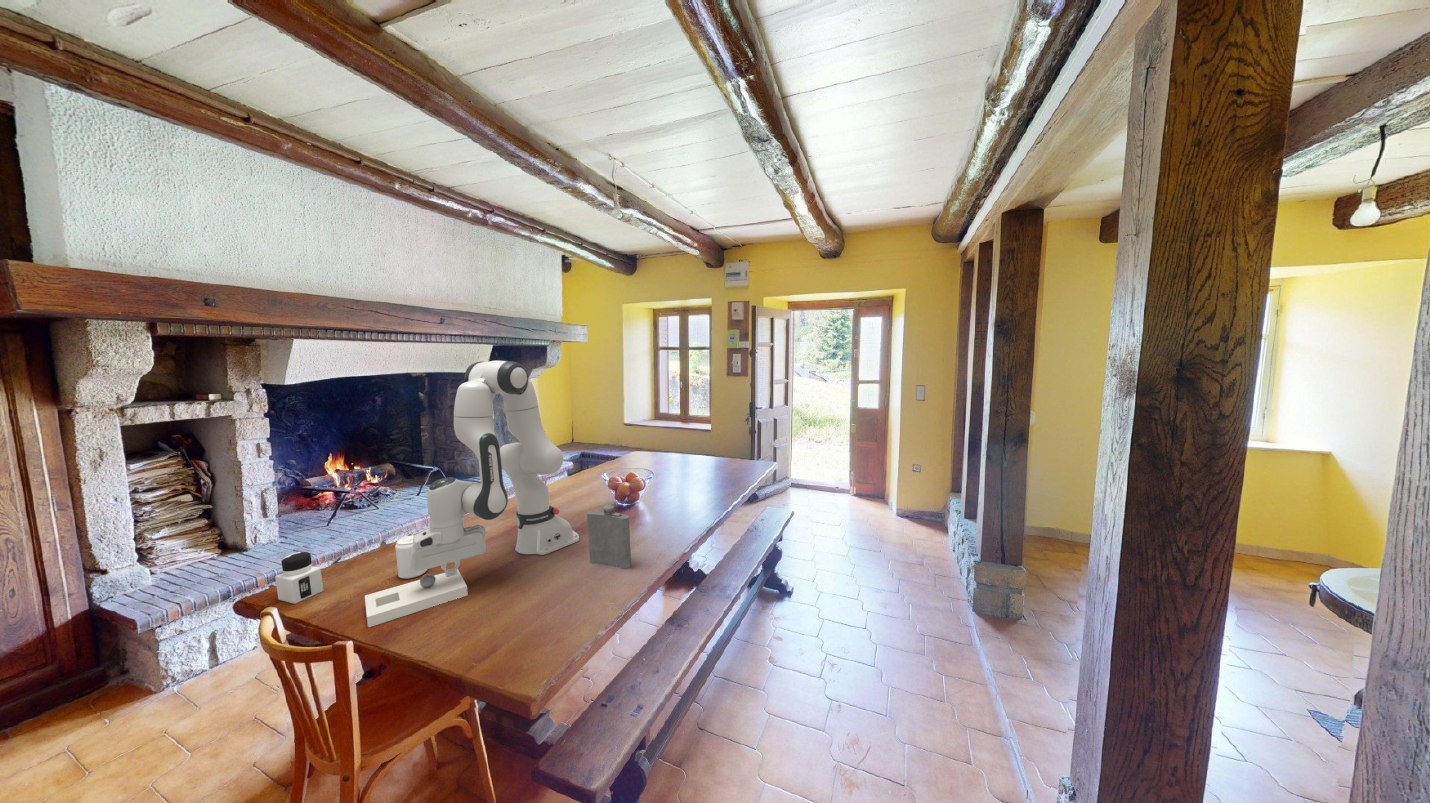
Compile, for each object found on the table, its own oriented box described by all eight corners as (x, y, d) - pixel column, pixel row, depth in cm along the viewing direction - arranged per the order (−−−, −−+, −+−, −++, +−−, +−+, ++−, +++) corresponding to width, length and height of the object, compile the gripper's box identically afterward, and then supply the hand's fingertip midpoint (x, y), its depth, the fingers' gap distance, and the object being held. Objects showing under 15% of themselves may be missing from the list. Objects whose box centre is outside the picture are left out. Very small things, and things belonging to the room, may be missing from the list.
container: (324, 590, 141) (318, 551, 140) (294, 604, 134) (288, 562, 133) (308, 587, 144) (302, 547, 142) (278, 600, 137) (271, 559, 135)
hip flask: (587, 562, 157) (584, 506, 154) (595, 557, 161) (592, 502, 158) (627, 569, 151) (625, 511, 149) (634, 564, 155) (631, 507, 152)
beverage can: (413, 580, 146) (409, 545, 145) (392, 578, 148) (388, 543, 147) (433, 568, 154) (430, 534, 153) (413, 566, 156) (409, 533, 154)
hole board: (458, 577, 148) (457, 568, 148) (467, 595, 137) (466, 585, 137) (365, 605, 133) (364, 595, 133) (368, 627, 122) (366, 617, 122)
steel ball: (435, 582, 139) (433, 569, 139) (437, 587, 136) (436, 574, 136) (419, 586, 137) (418, 574, 136) (421, 592, 134) (420, 579, 133)
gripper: (482, 520, 147) (485, 560, 149) (406, 538, 135) (411, 582, 136) (487, 526, 143) (490, 567, 144) (409, 544, 130) (413, 590, 131)
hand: (451, 575), depth 140 cm, fingers closed
